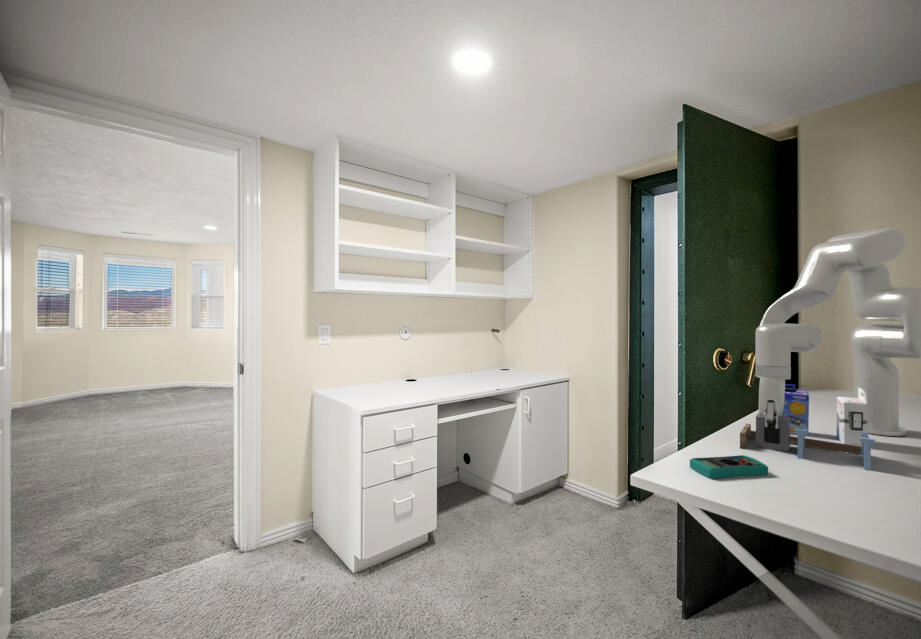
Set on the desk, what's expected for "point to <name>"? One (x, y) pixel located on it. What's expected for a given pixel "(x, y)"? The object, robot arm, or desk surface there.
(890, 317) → the robot arm
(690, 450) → the desk surface
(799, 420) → the ink cartridge box
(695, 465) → the digital multimeter
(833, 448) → the brown l-shaped bracket
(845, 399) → the ink box
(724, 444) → the desk surface
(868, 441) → the pair of blue brackets
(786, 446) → the charcoal plug
